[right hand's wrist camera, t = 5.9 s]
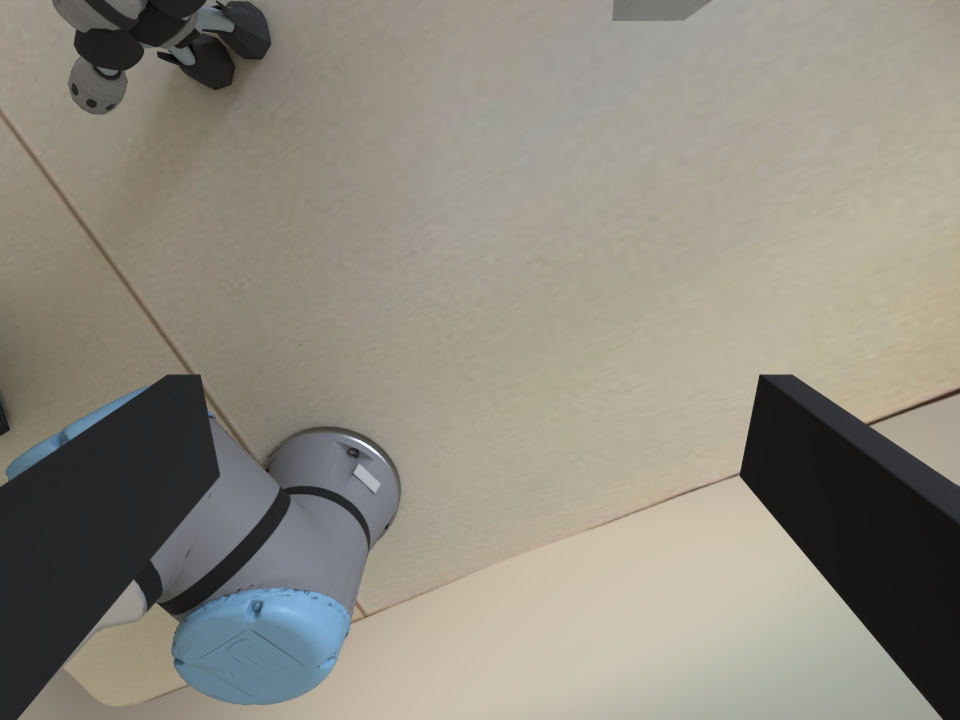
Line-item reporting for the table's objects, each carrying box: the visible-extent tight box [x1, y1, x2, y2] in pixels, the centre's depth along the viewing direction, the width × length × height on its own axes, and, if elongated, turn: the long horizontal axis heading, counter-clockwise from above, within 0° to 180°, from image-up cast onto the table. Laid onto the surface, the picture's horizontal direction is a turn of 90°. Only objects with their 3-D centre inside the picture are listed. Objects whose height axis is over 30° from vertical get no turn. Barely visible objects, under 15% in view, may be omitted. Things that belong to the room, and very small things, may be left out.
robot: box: [52, 0, 271, 115], centre depth 35 cm, size 20×5×20 cm, turn 124°
